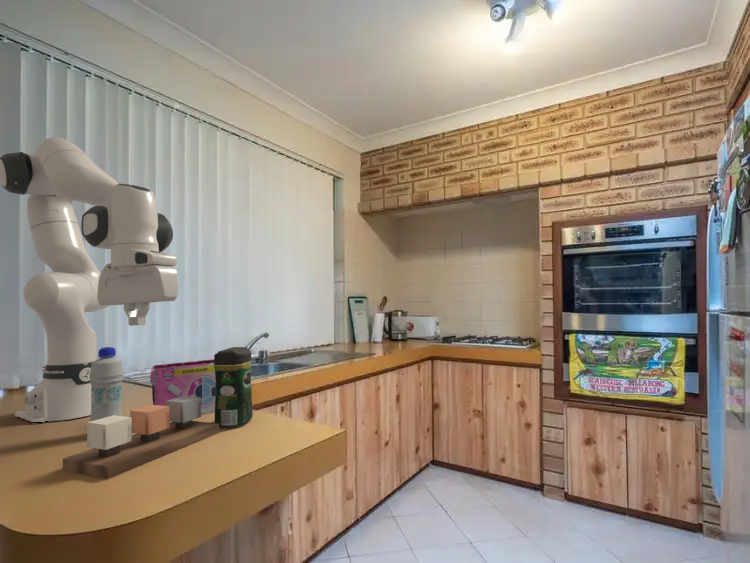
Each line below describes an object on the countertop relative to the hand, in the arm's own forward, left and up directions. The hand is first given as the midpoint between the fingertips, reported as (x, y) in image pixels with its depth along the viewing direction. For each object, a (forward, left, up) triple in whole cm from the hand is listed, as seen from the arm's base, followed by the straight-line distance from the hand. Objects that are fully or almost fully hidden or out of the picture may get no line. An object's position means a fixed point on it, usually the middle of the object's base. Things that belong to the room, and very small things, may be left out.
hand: (137, 325), depth 86 cm
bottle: (-15, +4, -26) cm, 30 cm away
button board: (+4, 0, -25) cm, 26 cm away
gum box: (-10, +27, -26) cm, 38 cm away
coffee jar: (+8, +20, -26) cm, 33 cm away
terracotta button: (+4, 0, -21) cm, 22 cm away
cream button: (+4, -8, -22) cm, 23 cm away
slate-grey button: (+4, +9, -22) cm, 24 cm away
